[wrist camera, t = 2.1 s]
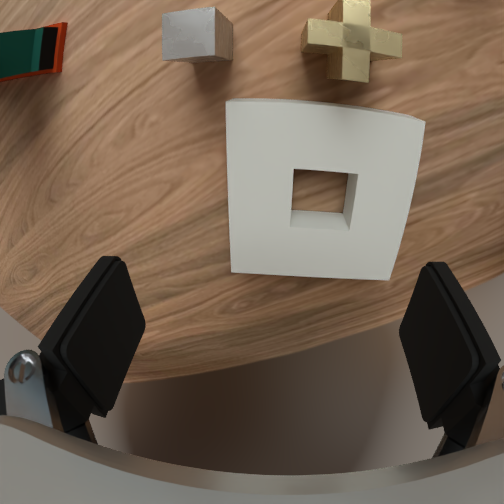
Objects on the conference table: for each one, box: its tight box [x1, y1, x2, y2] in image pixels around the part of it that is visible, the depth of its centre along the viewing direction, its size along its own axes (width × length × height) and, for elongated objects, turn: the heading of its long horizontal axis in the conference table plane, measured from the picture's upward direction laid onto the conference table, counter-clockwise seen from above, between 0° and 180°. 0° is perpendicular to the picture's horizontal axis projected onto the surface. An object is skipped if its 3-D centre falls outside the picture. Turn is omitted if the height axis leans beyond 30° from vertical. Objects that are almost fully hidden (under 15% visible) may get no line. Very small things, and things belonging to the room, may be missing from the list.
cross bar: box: [301, 0, 402, 83], centre depth 19 cm, size 7×7×8 cm
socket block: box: [226, 98, 425, 280], centre depth 29 cm, size 18×18×4 cm
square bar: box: [162, 7, 233, 63], centre depth 20 cm, size 4×4×8 cm
